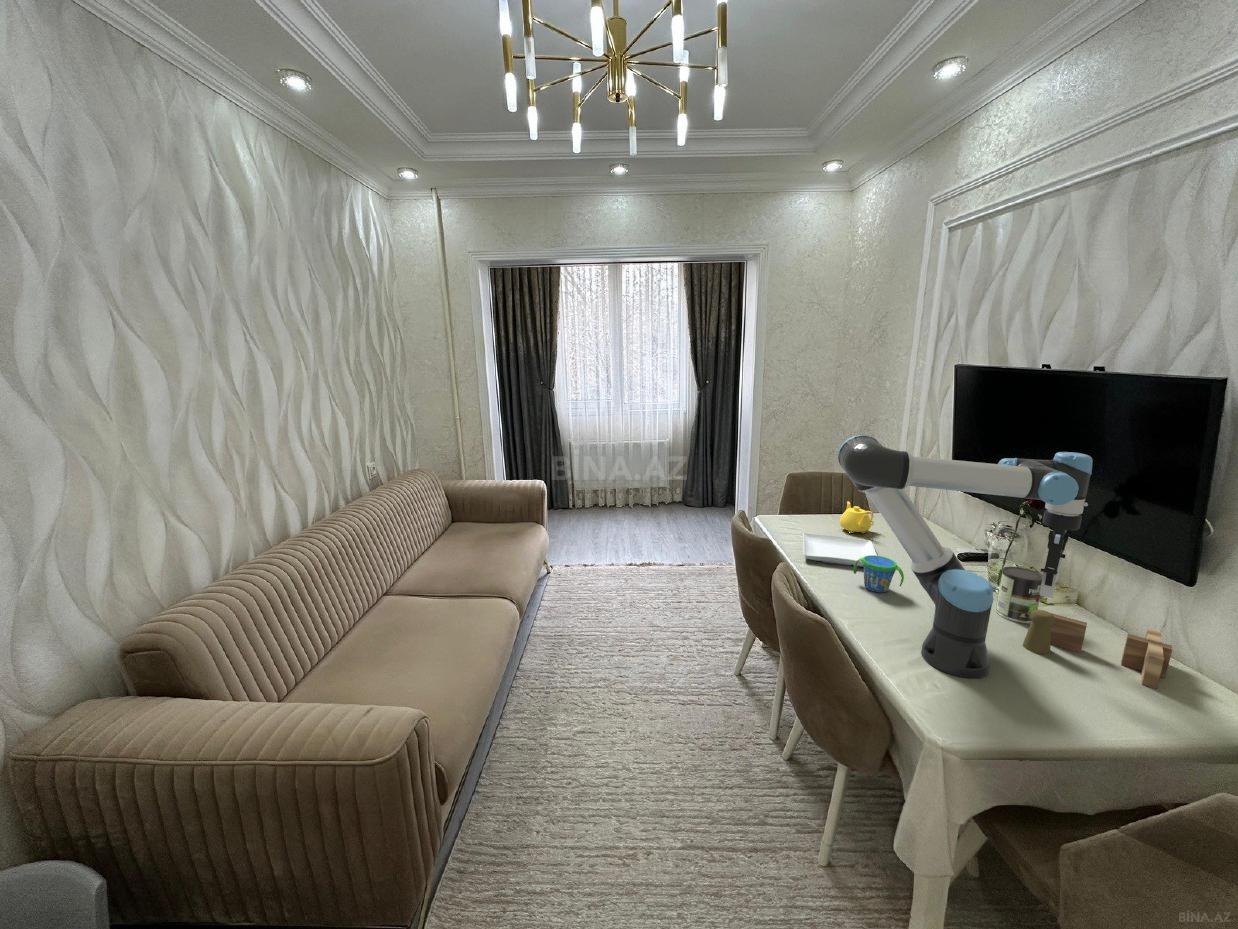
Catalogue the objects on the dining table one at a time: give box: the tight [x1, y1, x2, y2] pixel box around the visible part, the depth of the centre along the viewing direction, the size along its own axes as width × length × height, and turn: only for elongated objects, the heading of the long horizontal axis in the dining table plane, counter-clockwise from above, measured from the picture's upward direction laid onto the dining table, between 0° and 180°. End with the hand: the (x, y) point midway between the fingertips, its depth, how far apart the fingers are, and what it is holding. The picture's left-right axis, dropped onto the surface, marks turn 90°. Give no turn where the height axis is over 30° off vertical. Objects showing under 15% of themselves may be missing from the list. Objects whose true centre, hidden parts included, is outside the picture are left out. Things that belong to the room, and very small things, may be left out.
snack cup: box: [852, 555, 905, 594], centre depth 177 cm, size 16×10×10 cm
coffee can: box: [995, 566, 1043, 624], centre depth 160 cm, size 10×10×14 cm
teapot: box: [839, 501, 875, 534], centre depth 235 cm, size 20×15×12 cm
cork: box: [1022, 609, 1055, 656], centre depth 142 cm, size 6×6×11 cm
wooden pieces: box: [1050, 612, 1173, 690], centre depth 138 cm, size 18×24×8 cm
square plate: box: [802, 532, 878, 568], centre depth 208 cm, size 27×27×4 cm
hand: (1048, 587), depth 139 cm, fingers open, 13 cm apart
